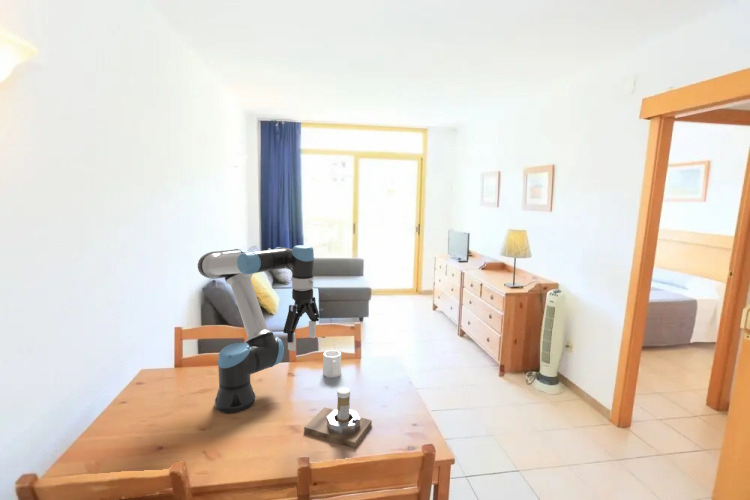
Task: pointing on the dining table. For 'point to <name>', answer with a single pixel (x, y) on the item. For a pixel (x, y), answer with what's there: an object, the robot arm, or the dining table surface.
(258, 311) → the robot arm
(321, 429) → the block
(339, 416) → the sprinkles bottle
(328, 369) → the mug
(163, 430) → the dining table surface
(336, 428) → the ring
